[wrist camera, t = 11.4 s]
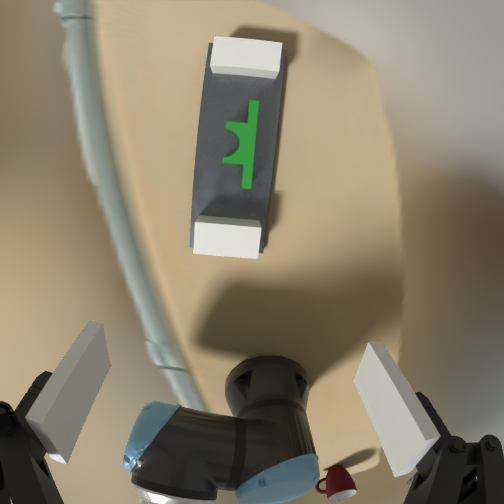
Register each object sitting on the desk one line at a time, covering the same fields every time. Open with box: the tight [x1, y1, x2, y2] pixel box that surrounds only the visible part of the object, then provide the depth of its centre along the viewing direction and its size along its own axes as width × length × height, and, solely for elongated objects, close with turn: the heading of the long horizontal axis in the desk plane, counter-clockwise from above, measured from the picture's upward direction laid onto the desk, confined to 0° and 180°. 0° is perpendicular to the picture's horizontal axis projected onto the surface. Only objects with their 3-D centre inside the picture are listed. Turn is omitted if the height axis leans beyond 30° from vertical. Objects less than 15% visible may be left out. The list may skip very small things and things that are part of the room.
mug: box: [315, 465, 357, 501], centre depth 60 cm, size 10×8×10 cm
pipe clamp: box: [223, 100, 259, 189], centre depth 34 cm, size 10×4×4 cm, turn 175°
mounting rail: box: [190, 37, 286, 259], centre depth 35 cm, size 28×10×5 cm, turn 174°
